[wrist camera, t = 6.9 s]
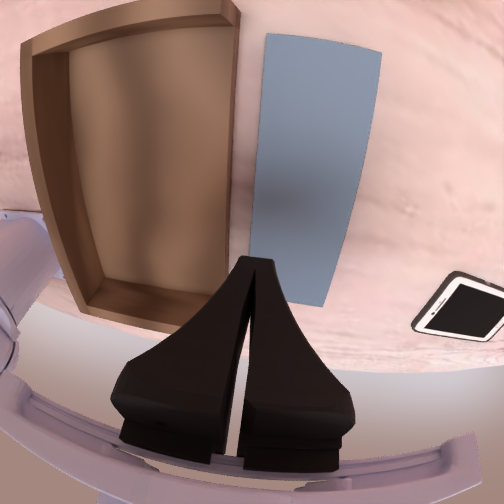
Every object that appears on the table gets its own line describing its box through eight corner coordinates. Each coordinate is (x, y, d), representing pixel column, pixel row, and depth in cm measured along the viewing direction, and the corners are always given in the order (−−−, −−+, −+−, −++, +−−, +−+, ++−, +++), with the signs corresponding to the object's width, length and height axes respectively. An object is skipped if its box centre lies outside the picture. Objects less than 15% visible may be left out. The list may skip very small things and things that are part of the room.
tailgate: (245, 294, 22) (322, 307, 21) (266, 33, 11) (381, 52, 11) (248, 284, 23) (322, 296, 22) (269, 36, 12) (376, 54, 12)
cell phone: (484, 337, 25) (487, 343, 24) (406, 324, 25) (408, 331, 24) (522, 294, 21) (525, 299, 20) (451, 265, 20) (455, 273, 19)
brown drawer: (105, 274, 24) (80, 312, 20) (71, 39, 12) (20, 43, 8) (227, 294, 24) (216, 342, 20) (240, 12, 11) (222, -11, 7)
